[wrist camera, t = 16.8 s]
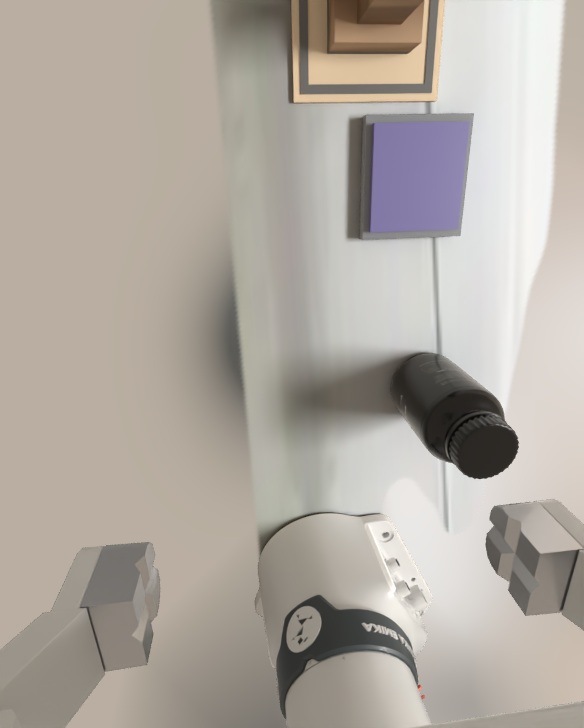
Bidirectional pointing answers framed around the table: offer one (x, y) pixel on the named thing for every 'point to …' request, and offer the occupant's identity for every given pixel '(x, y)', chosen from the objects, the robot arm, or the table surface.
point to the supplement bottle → (454, 415)
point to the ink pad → (413, 175)
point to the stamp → (374, 26)
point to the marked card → (362, 62)
